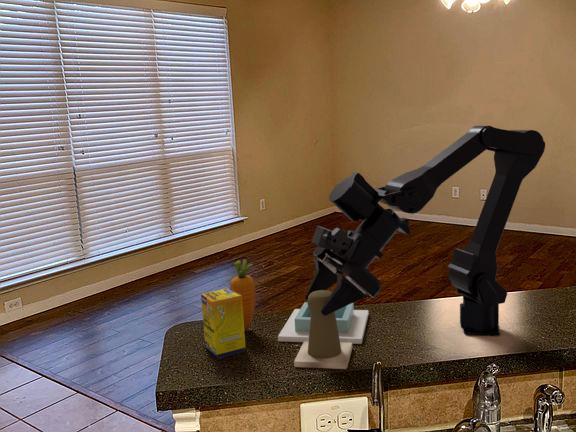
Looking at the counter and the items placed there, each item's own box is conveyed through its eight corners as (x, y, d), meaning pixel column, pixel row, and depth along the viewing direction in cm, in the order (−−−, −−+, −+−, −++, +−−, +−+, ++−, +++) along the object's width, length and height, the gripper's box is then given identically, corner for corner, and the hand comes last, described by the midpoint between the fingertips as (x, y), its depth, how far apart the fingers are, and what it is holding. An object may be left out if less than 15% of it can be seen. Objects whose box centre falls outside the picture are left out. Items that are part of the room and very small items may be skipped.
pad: (352, 347, 105) (352, 342, 105) (346, 369, 96) (346, 363, 96) (304, 346, 107) (304, 341, 107) (294, 366, 98) (294, 361, 98)
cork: (332, 342, 105) (330, 284, 103) (347, 354, 100) (345, 293, 98) (302, 348, 103) (299, 290, 101) (315, 361, 98) (312, 299, 96)
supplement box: (204, 349, 108) (199, 293, 107) (233, 341, 111) (229, 287, 109) (216, 359, 103) (211, 301, 101) (246, 351, 106) (242, 294, 104)
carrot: (247, 324, 120) (242, 255, 118) (263, 329, 117) (258, 258, 114) (228, 331, 117) (223, 260, 114) (244, 337, 113) (239, 263, 111)
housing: (368, 314, 122) (368, 298, 121) (361, 343, 106) (360, 326, 106) (295, 313, 125) (294, 297, 125) (278, 341, 110) (277, 323, 109)
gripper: (320, 202, 107) (267, 266, 106) (360, 216, 89) (297, 294, 88) (360, 238, 111) (309, 301, 109) (407, 259, 93) (346, 334, 92)
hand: (314, 306), depth 100 cm, fingers open, 8 cm apart
